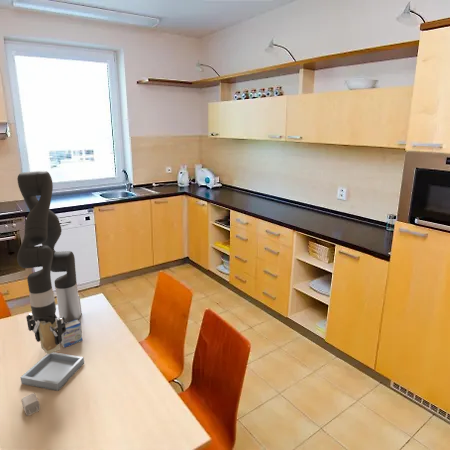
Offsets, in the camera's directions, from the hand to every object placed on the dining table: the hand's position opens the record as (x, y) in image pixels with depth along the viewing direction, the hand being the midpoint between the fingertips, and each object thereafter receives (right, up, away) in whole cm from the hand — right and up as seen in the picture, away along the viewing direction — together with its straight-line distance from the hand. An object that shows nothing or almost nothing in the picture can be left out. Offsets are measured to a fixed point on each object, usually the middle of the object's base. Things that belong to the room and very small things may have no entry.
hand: (49, 341), depth 127 cm
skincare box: (0, -3, +1) cm, 3 cm away
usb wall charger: (+2, -18, -13) cm, 23 cm away
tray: (0, -13, +4) cm, 13 cm away
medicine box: (-2, -8, +22) cm, 24 cm away
